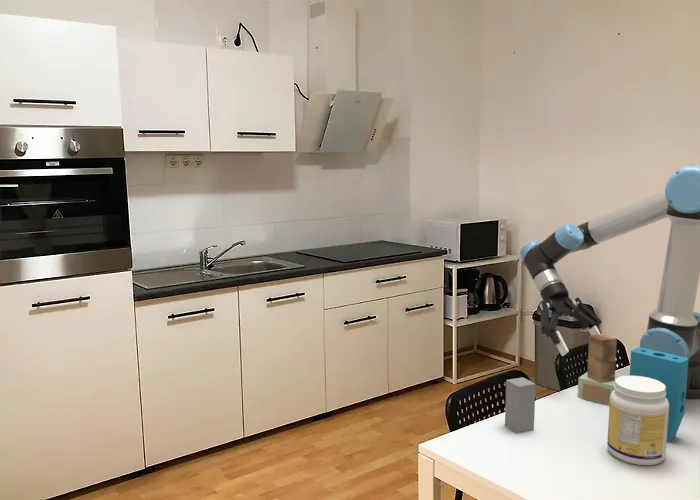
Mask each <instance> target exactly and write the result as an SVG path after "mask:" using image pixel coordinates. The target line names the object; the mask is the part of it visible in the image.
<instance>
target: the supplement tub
mask: <svg viewBox="0 0 700 500" xmlns="http://www.w3.org/2000/svg"><path fill="white" fill-rule="evenodd" d="M614 388H615V390H614V391H613V392H612V393H611V395H610V405H609V408H608V409H609V411H608V427H607V441H606V442H607V443H606V444H607V445H606V446H607V449H608V451H609V453H610V454H612V455H613V456H614V457H615V458H617V459H618V460H620V461H623V462H626V463H629V464H632V465H637V466H638V465H639V466H655V465H657V464H660V463H662V462H663V461H664V460H665V457H666V454H667V453H666V451H667V428H668V414H669V402H668V400H667V398H666V397H665V396H666V386H665V385H664V384H663V383H662V382H660V381H658V380H655V379H652V378H648V377H642V376H630V375H624V376H621V377H618V378H617V379H616V380H615V385H614Z"/></svg>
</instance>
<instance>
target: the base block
mask: <svg viewBox="0 0 700 500" xmlns="http://www.w3.org/2000/svg"><path fill="white" fill-rule="evenodd" d="M587 372H588V371H586V372H585V373H583V374H582V375H580V376H579V377H578V384H577V398H578V399H582V400H586V401H590V402H594V403H598V404H603V405H607V406H610V395H611V393H612V392H613V391H614V390H615V388H614V385H615V380H616V379H617V378H618V377H621V376H625V375H622V374H618V373H615V380H614V381H609V382H604V383H599V382H597V381H595V380H592V379H590V378H588V377H587Z"/></svg>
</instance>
